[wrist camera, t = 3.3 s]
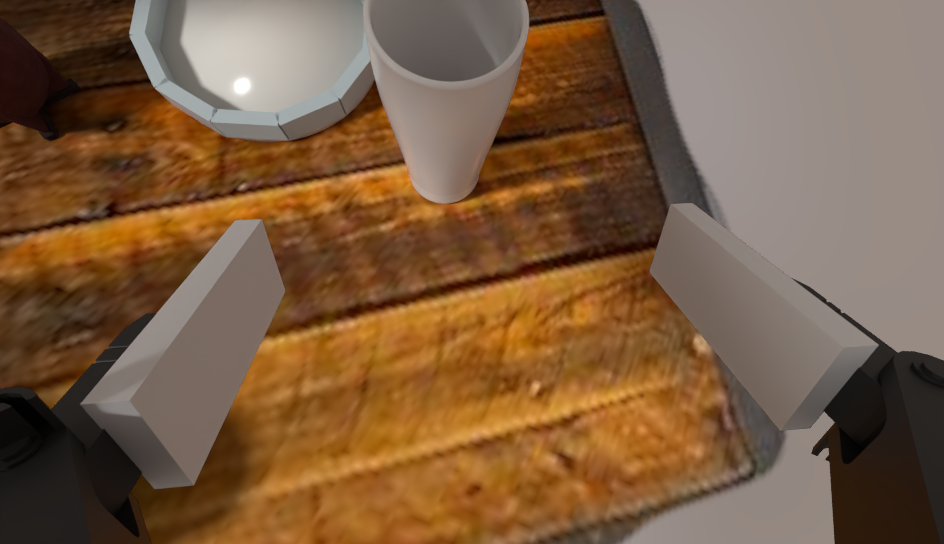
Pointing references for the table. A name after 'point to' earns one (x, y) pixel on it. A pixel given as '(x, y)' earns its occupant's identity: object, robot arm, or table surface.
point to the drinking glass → (445, 83)
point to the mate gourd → (28, 84)
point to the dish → (256, 62)
